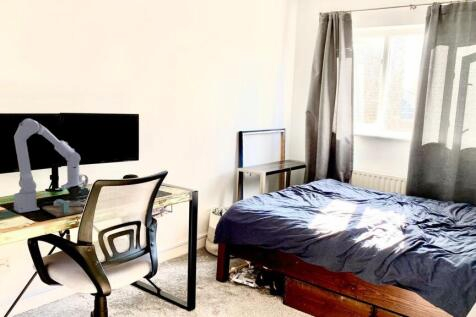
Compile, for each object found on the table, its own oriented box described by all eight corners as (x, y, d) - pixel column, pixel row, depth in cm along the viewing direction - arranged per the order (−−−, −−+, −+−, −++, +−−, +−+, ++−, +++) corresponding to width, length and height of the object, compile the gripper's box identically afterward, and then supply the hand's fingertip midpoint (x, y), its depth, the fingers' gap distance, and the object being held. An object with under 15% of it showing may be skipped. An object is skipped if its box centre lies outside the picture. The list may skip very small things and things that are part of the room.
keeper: (64, 213, 196) (63, 203, 195) (56, 209, 202) (55, 199, 201) (69, 212, 198) (68, 202, 197) (60, 208, 204) (60, 199, 203)
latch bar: (88, 204, 212) (88, 198, 212) (87, 206, 208) (87, 200, 208) (55, 204, 209) (55, 198, 208) (53, 206, 205) (53, 200, 205)
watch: (72, 194, 235) (72, 175, 233) (84, 191, 242) (84, 173, 240) (79, 195, 232) (78, 176, 230) (90, 193, 239) (90, 174, 237)
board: (57, 216, 193) (57, 214, 193) (42, 208, 205) (42, 206, 205) (99, 209, 208) (99, 207, 208) (83, 201, 220) (83, 200, 220)
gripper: (78, 171, 221) (78, 196, 223) (56, 176, 208) (57, 202, 210) (88, 173, 218) (88, 198, 221) (66, 177, 205) (67, 204, 207)
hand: (73, 200), depth 215 cm, fingers closed
